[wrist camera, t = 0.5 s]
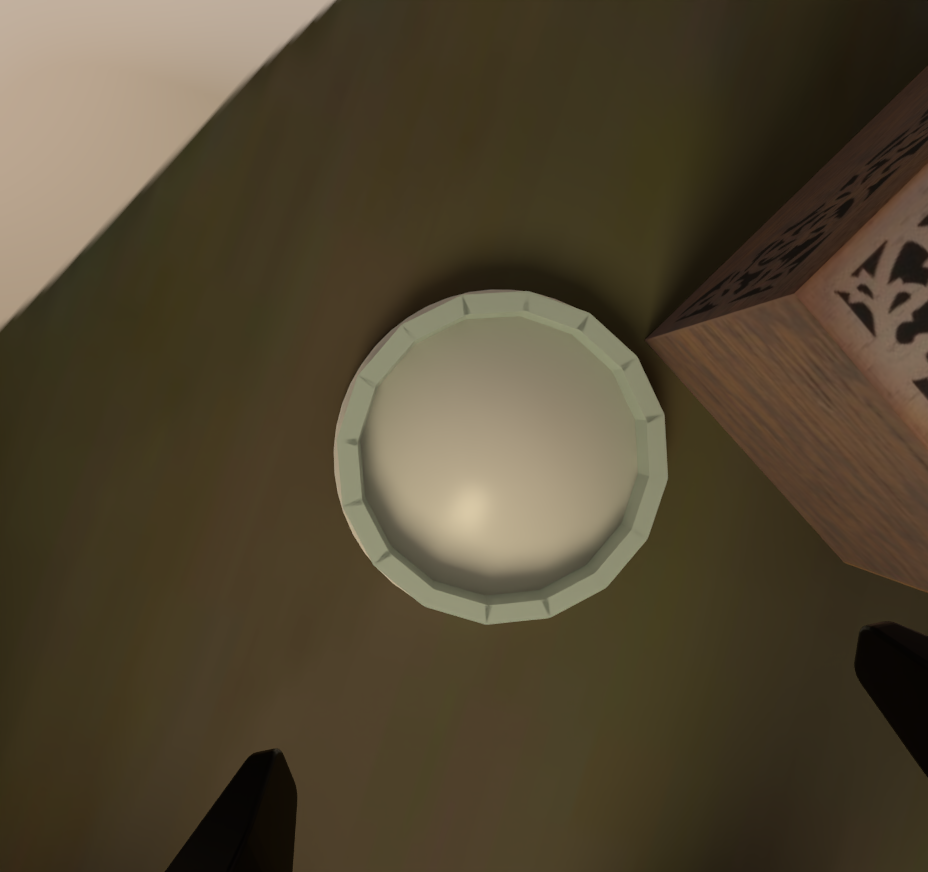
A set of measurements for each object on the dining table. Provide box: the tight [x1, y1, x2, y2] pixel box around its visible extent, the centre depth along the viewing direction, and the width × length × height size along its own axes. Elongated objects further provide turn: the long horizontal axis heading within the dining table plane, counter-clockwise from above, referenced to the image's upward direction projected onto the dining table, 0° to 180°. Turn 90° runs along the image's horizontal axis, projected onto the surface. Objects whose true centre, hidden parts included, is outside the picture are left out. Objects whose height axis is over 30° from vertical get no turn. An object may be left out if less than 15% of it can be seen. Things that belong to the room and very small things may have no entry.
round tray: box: [334, 289, 668, 625], centre depth 23 cm, size 14×14×2 cm
